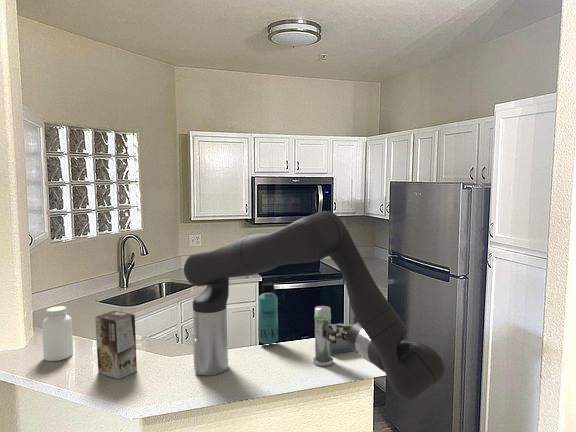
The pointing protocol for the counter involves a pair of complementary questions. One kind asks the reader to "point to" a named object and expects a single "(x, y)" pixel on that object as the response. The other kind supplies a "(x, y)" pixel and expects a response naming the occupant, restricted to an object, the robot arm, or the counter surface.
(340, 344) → the stand block
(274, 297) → the beverage bottle
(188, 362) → the counter surface
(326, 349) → the clear glass cylinder
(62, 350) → the pill bottle
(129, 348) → the coffee box
